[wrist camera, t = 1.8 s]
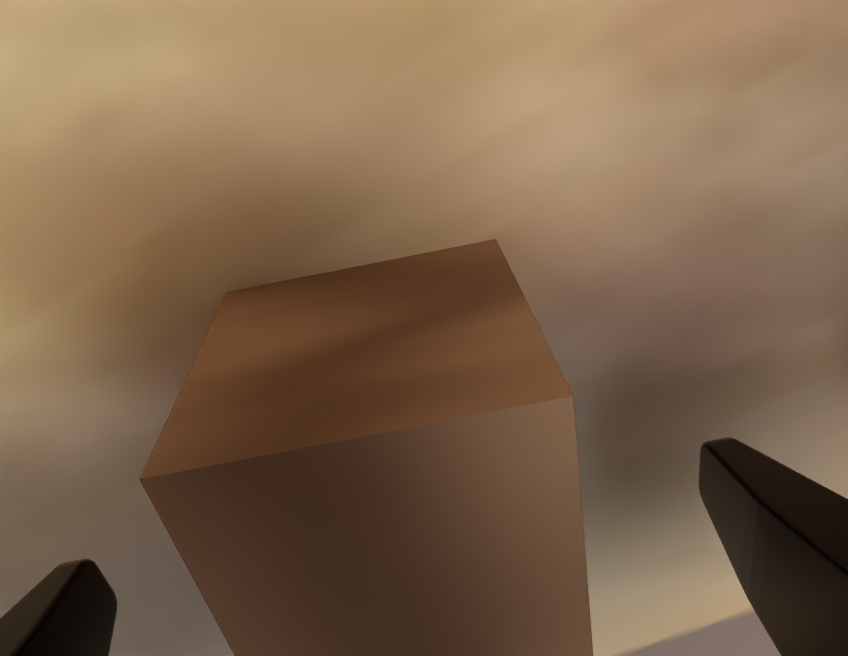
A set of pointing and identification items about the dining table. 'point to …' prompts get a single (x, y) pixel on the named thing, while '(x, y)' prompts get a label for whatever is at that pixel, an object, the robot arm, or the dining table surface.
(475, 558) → the walnut cube
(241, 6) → the dining table surface
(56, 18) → the dining table surface
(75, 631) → the robot arm
